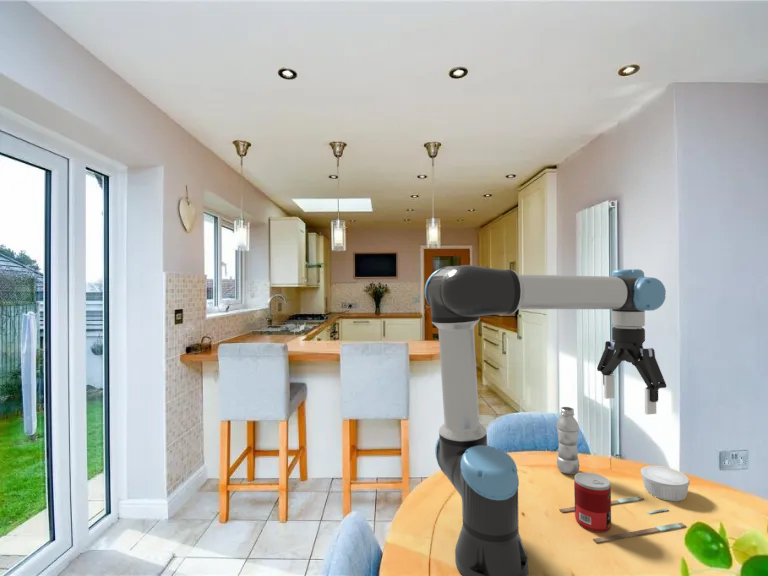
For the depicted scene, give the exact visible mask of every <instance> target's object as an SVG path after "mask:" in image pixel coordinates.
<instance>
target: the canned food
mask: <svg viewBox="0 0 768 576" xmlns="http://www.w3.org/2000/svg"><path fill="white" fill-rule="evenodd" d="M573 481H574V482H573V483H574V484H573V487H574V488H573V489H574V507H575V511H574V518H575V520H576V523H577V524H578V525H579V526H581V527H582V528H584V529H585V530H588V531H590V532H595V533H604V532H608V531H609V530H610V529H611V527H612V505H611V501H612V490H611V488H612V487H611V481H610V480H609V479H608V478H606V477H605V476H603V475H600V474H597V473H593V472H588V471H587V472H577V473H576V474H574V480H573Z"/></svg>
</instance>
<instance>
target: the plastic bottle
mask: <svg viewBox="0 0 768 576" xmlns="http://www.w3.org/2000/svg"><path fill="white" fill-rule="evenodd" d="M560 415H561V416H560V417H559V419H558V420H557V422H556V429H557V430H556V431H557V436H558V453H557V457H556V466H557V469H558V470H559V472H561V473H563V474H566V475H576V474H578V473H579V470H580V460H579V455H578V436H579V431H580V430H579V429H580V426H579V423H578V421H577V419H576V418H575V417H574V416H575V413H574V408H573V407H570V406H562V407H561V408H560Z"/></svg>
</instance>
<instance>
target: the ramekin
mask: <svg viewBox="0 0 768 576" xmlns="http://www.w3.org/2000/svg"><path fill="white" fill-rule="evenodd" d="M640 475H641V477H642V482H643V487H644V488H645V490H646V492H647V493H648V492H649V493H648V494H650V495H651V494H652V495H651V496H653V495H654V496H653V497H655V496H656V497H655V498H657V497H658V499H660V498H661V499H660V500H663V499H665V500H664V501H667V500H670V501H669V502H682V501H683V500H685V498H687V496H688V491H689V485H690V478H689V477H688V476H687V475H686V474H685V473H683V472H682V471H679V470H677V469H674V468H670V467H667V466H663V465H647V466H643V467H642V468H641V469H640Z"/></svg>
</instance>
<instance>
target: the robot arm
mask: <svg viewBox="0 0 768 576" xmlns="http://www.w3.org/2000/svg"><path fill="white" fill-rule="evenodd" d="M424 297H425V300H426V302H427V304H428V306H429V307H430V313H431V314H430V316H431V323H432V325H434V326H435V327H436V328H437V329H438V343H439V358H440V374H441V375H440V376H441V389H442V391H441V392H442V405H443V420H444V423H443V424H442V425H441V426H439V429H438V434H439V436H438V437H439V438H437V440H436V443H435V448H434V452H435V453H434V454H435V458H436V461H437V465H438V467H439V468H440V470H441V472H442V473H443V474H444V476H446V478H447V479H448V480H449V482H450V483H451V484H452V486H453V487H454V489H455V490H456V491H457V493H458V494H459V496H460V497H461V503H462V505H461V508H462V525H461V530H460V533H459V535H458V539H457V542H456V545H455V549H454V556H455V557H454V558H455V559H454V561H455V565H456V568H457V570H458V571H459V573H460V574H461V576H462V575H463V576H527V575H528V574H529V560H528V559H529V558H528V556H527V555H528V554H527V553H526V549H525V547H524V542H523V541H522V538H521V535H520V532H519V531H520V530H519V529H520V527H519V485H520V482H519V479H520V478H519V475H518V467H517V463H516V462H515V460H514V459H513V458H512V456H510V455H509V453H507V452H505V451H504V450H502V449H500V448H497V449H496V447H495V446H490V445H488V435H487V428H486V427H485V426H484V425H483V424H481V422H480V409H479V393H478V377H477V375H478V374H477V361H476V345H475V344H476V343H475V341H476V340H475V326H476V325H477V324H478V323H479V322H480V317H484V316H493V315H513V314H515V313H516V312H517V311H518V310H611V325H612V328H611V329H612V331H611V333H612V335H611V338H612V339H611V340H608V341H605V342H604V350H603V352H602V355H601V358H600V360H599V362H598V365H597V368H596V369H597V372H601V374H602V385H603V386H604V391H603V392H604V393H603V394H604V399H609V400H610V399H615V375H614V372H615V370H616V369H617V368H618V367H619V366H620V364H621V363H622V362H624V361H625V362H627V363H630V364H632V366H634V367H635V368H636V370H637V372H638V374H639V375H640V377H641V379H642V380H643V382H644V383H645V386H646V387H645V388H644V414H645V415H655V414H656V415H657V403H658V402H659V390H660V389H665V388H667V383H666V380H665V378H664V376H663V373H662V370H661V369H660V366H659V363H658V361H657V359H656V352H655V349H654V348H652V347H651V348H650V347H649V348H644V346H643V344H644V343H645V341H646V329H645V328H643V327H644V326H645V325H646V323H645V322H646V315H645V314H646V311H655V310H658V309H660V308H661V307H662V306H663V304H664V303H665V300H666V287H665V285H664V283H663V282H662V281H661V280H660V279H658V278H656V277H651V276H649V277H647V276H645V272H644V271H643V270H642V269H640V268H639V269H636V268H635V269H634V268H633V269H613V271H612V272H611V276H600V275H599V276H598V275H597V276H596V275H595V276H594V275H559V274H558V275H556V274H555V275H554V274H552V275H551V274H546V275H545V274H518V273H517V271H515V270H513V269H502V268H491V267H487V266H486V267H485V266H480V265H471V264H462V265H454V266H453V265H449V266H443V267H442V268H439V269H437V270H435V271H433V272H432V274H431V275H430V276H429V277H428V279H427V280H426V283H425V286H424Z"/></svg>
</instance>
